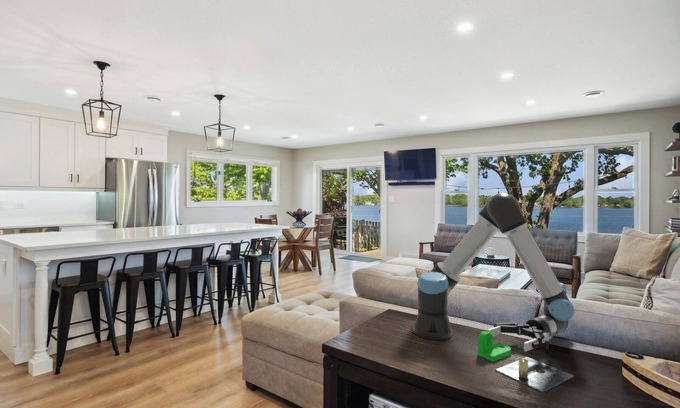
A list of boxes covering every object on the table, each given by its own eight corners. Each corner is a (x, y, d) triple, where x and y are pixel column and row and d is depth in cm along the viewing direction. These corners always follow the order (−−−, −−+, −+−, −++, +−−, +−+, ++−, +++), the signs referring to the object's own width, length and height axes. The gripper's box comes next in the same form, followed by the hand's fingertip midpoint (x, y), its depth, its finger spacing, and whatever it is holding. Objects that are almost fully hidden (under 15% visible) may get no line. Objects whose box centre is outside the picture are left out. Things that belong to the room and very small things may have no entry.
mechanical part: (493, 362, 121) (493, 338, 121) (477, 355, 126) (477, 332, 126) (514, 354, 127) (514, 331, 127) (499, 347, 132) (499, 326, 132)
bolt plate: (495, 370, 115) (495, 352, 115) (526, 357, 124) (527, 340, 124) (542, 392, 102) (542, 371, 102) (574, 376, 111) (574, 357, 111)
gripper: (576, 349, 125) (541, 365, 114) (509, 327, 146) (475, 338, 135) (576, 328, 125) (542, 341, 114) (509, 308, 146) (475, 318, 135)
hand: (505, 340), depth 125 cm, fingers open, 13 cm apart
